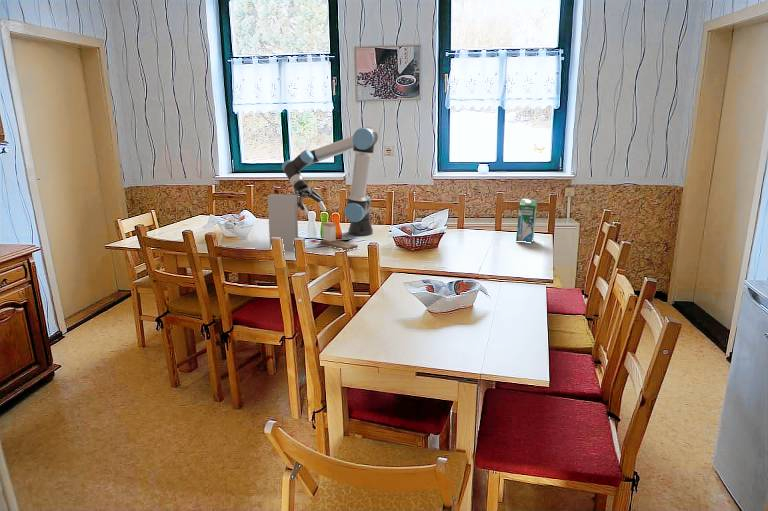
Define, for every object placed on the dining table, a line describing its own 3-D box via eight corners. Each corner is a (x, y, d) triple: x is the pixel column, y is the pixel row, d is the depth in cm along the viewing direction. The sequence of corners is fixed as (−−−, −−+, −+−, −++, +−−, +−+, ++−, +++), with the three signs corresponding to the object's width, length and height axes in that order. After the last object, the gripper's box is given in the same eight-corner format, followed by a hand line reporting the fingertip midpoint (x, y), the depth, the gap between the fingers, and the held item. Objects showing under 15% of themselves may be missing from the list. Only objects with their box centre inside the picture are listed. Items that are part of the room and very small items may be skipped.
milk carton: (515, 242, 302) (519, 200, 295) (518, 238, 310) (521, 198, 303) (531, 244, 299) (535, 201, 292) (533, 240, 307) (537, 199, 300)
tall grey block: (298, 249, 279) (296, 194, 270) (295, 251, 273) (294, 196, 265) (273, 248, 280) (270, 193, 272) (270, 250, 275) (267, 195, 266)
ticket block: (330, 241, 296) (330, 238, 295) (357, 248, 282) (357, 244, 281) (320, 244, 290) (320, 240, 289) (347, 251, 276) (347, 247, 276)
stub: (328, 238, 293) (328, 221, 291) (335, 240, 290) (335, 223, 287) (323, 239, 290) (323, 222, 288) (330, 241, 287) (330, 224, 284)
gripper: (312, 185, 309) (329, 213, 304) (278, 189, 291) (296, 219, 286) (317, 177, 305) (335, 205, 299) (284, 181, 286) (302, 211, 281)
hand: (316, 212), depth 293 cm, fingers open, 13 cm apart
